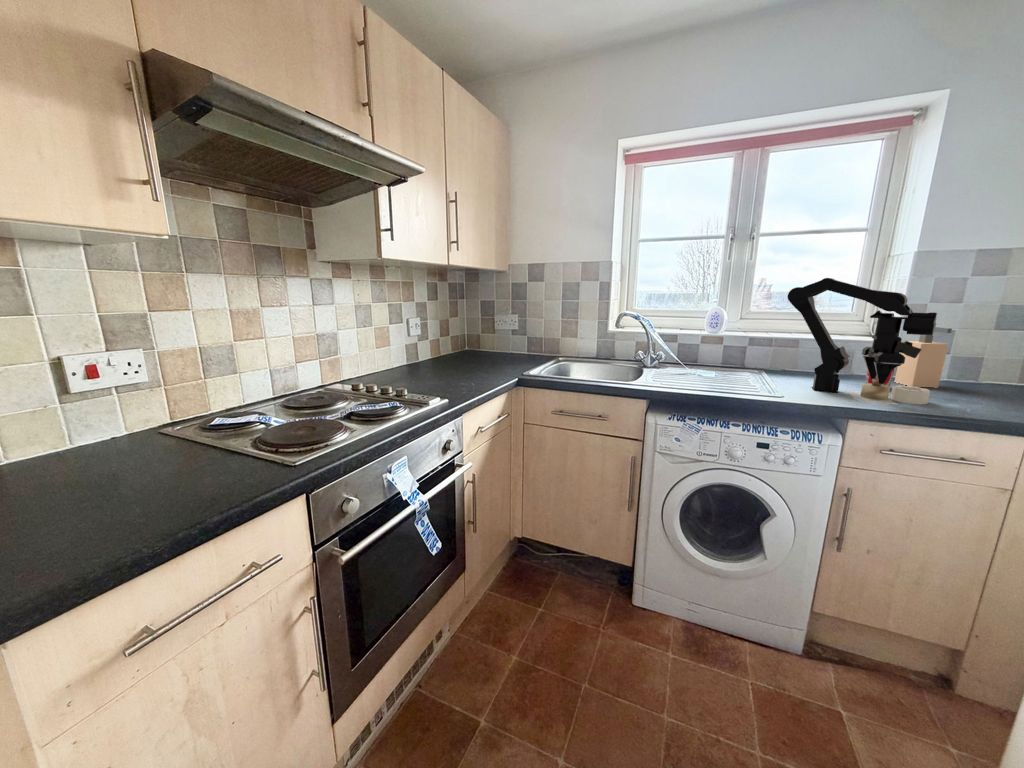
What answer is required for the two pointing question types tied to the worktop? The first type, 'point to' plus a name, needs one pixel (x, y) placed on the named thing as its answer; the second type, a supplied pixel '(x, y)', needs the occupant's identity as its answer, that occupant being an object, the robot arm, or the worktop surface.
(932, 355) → the soap dispenser
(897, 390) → the bowl
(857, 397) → the mat
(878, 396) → the lid
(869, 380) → the soda can
